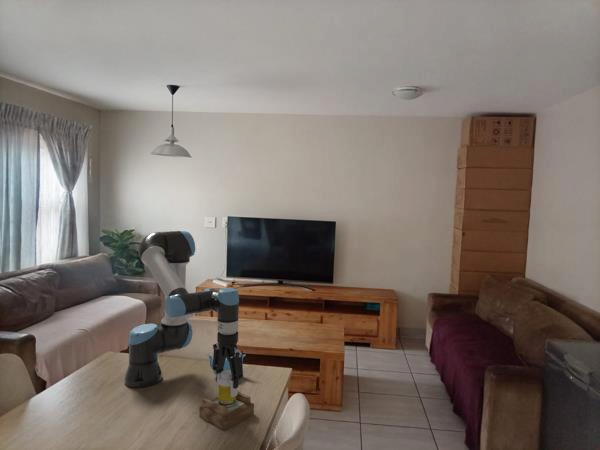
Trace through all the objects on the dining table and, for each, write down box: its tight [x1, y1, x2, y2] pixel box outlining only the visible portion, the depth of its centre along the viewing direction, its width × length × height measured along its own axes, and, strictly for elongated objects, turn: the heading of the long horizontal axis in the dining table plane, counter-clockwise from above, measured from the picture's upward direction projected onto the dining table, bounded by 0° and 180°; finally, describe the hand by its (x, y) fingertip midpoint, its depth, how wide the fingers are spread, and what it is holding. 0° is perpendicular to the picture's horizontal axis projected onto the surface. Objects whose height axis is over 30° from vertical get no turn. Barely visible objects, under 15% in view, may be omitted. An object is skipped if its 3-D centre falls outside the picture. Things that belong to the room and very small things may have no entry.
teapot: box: [206, 353, 246, 377], centre depth 181 cm, size 13×13×10 cm
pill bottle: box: [217, 370, 236, 407], centre depth 148 cm, size 6×6×12 cm
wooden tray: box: [198, 390, 255, 431], centre depth 149 cm, size 14×14×6 cm
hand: (227, 392), depth 148 cm, fingers closed on pill bottle, 6 cm apart
